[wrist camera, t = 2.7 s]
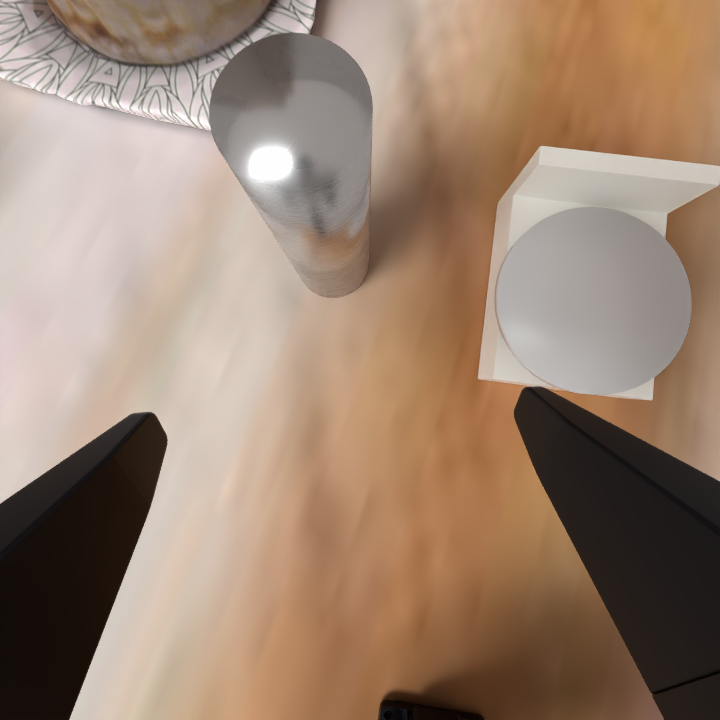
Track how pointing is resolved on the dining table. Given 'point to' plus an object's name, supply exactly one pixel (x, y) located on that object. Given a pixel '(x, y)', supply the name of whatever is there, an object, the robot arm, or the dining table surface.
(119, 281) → the dining table surface
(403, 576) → the dining table surface
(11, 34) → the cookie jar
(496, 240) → the scale
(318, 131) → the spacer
